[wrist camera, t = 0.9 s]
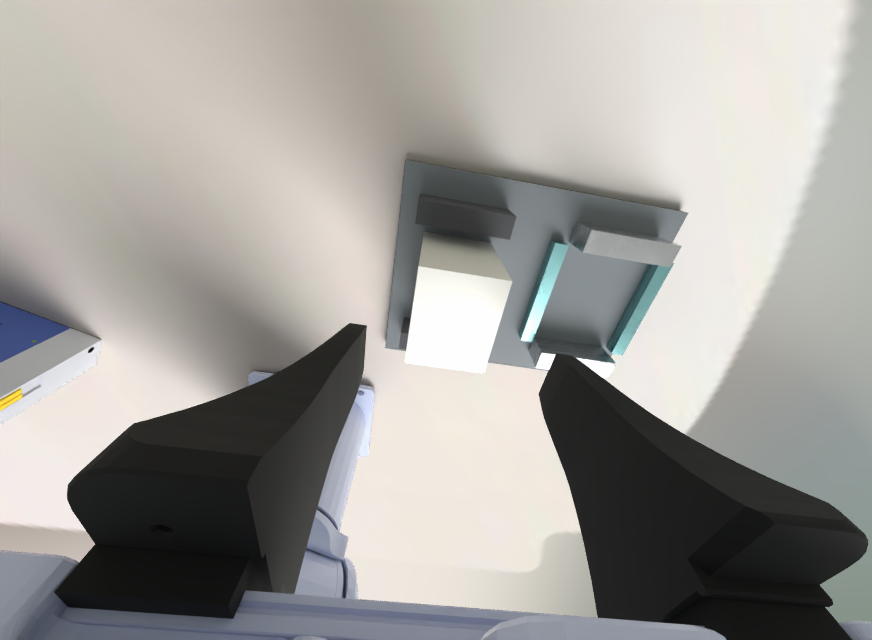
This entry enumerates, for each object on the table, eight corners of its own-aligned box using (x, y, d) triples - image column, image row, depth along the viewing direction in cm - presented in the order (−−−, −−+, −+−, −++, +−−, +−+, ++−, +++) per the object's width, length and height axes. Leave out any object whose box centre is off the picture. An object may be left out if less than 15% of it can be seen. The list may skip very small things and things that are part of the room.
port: (513, 348, 22) (519, 365, 20) (558, 218, 18) (571, 226, 16) (609, 362, 23) (623, 380, 21) (675, 239, 18) (700, 249, 16)
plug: (412, 307, 20) (404, 362, 15) (424, 231, 18) (418, 266, 13) (472, 316, 21) (484, 373, 16) (491, 243, 18) (512, 281, 13)
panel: (386, 343, 23) (385, 348, 22) (406, 159, 17) (405, 160, 16) (595, 373, 24) (599, 377, 23) (680, 211, 18) (688, 212, 18)
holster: (401, 332, 21) (398, 348, 20) (420, 193, 17) (418, 198, 15) (473, 342, 22) (475, 359, 20) (508, 209, 17) (516, 216, 16)
